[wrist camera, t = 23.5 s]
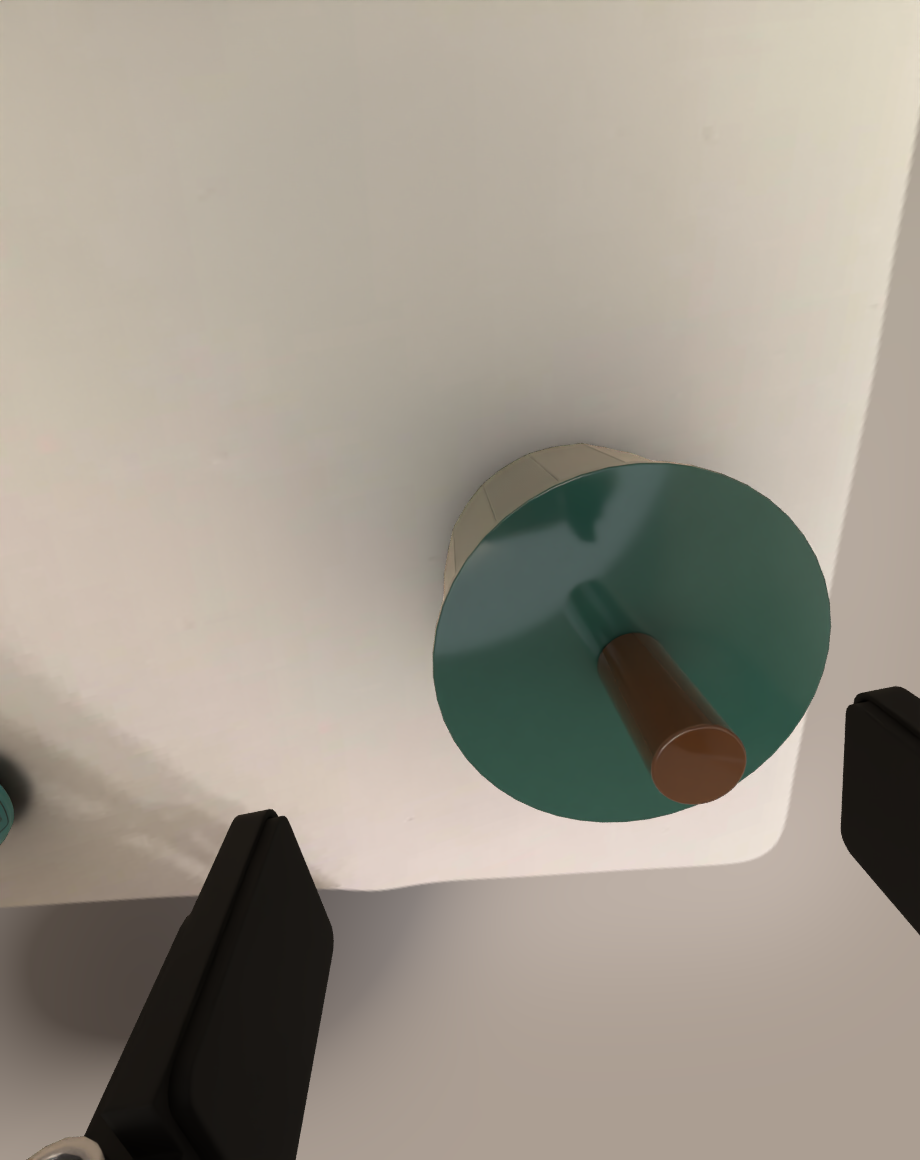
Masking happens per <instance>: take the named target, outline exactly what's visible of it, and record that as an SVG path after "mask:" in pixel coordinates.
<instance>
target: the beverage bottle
mask: <svg viewBox="0 0 920 1160" xmlns="http://www.w3.org/2000/svg"><path fill="white" fill-rule="evenodd" d="M13 820H14V810H13V805H12V802H11V800H10V798H9V796H8V794H7V793H6V791H5V790H4V788H3V787H2V786H1V785H0V844H1V843H2V842H3V841H4V840H5V838H6V836H7V835H8V832H9V831H10V829H11V827H12V824H13Z"/></svg>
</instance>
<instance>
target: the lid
mask: <svg viewBox="0 0 920 1160" xmlns="http://www.w3.org/2000/svg"><path fill="white" fill-rule="evenodd" d="M830 620H831V619H830V602H829V597H828V592H827V587H826V583H825V578H824V576H823V573H822V571H821V568H820V565H819V563H818V560H817V557H816V555H815V554H814V552H813V550H812V548H811V547H810V545H809V543H808V541H807V540H806V538H805V536H804V535H803V533H802V532H801V531H800V530H799V529H798V527H797V526H796V525H795V524H794V522H793V521H792V520H791V519H790V518H789V516H788V515H787V514H786V513H784V512H783V511H782V510H781V509H780V508H779V507H778V506H777V505H775V504H774V503H773V502H772V501H771V500H770V499H768V498H767V497H765V496H764V495H762V494H761V493H759V492H758V491H756V490H754V489H753V488H751V487H750V486H748V485H746V484H744V483H742V482H740V481H737V480H735V479H733V478H731V477H728V476H726V475H724V474H722V473H718V472H715V471H712V470H708V469H704V468H701V467H697V466H694V465H689V464H682V463H674V462H667V461H631V462H624V463H617V464H610V465H604V466H600V467H597V468H593V469H589V470H586V471H582V472H578V473H576V474H573V475H571V476H568V477H566V478H563V479H561V480H559V481H556V482H554V483H551V484H549V485H548V486H546V487H544V488H542V489H541V490H539V491H537V492H535V493H534V494H532V495H530V496H528V497H527V498H525V499H524V500H522V501H521V502H520V503H518V504H517V505H516V506H514V507H513V508H512V509H510V510H509V511H508V512H506V513H505V514H504V515H502V516H501V517H500V518H499V519H498V520H497V521H496V522H495V523H494V524H493V525H492V526H491V527H490V528H489V529H488V530H487V531H486V532H485V533H484V534H483V535H482V536H481V537H480V539H479V540H478V541H477V542H476V544H475V545H474V546H473V547H472V549H471V550H470V551H469V552H468V554H467V555H466V556H465V558H464V560H463V561H462V563H461V565H460V566H459V568H458V570H457V571H456V573H455V575H454V576H453V578H452V580H451V583H450V585H449V587H448V590H447V592H446V594H445V597H444V599H443V601H442V605H441V608H440V612H439V616H438V619H437V623H436V629H435V636H434V644H433V679H434V685H435V691H436V697H437V701H438V704H439V707H440V710H441V713H442V717H443V720H444V722H445V724H446V726H447V728H448V730H449V732H450V734H451V736H452V738H453V740H454V742H455V743H456V744H457V746H458V747H459V749H460V750H461V752H462V753H463V755H464V756H465V757H466V759H467V760H468V761H469V762H470V763H471V764H472V765H473V766H474V767H475V768H476V770H477V771H478V772H479V773H480V774H481V775H482V776H484V777H485V778H486V779H487V780H488V781H490V782H491V783H492V784H493V785H494V786H496V787H497V788H498V789H500V790H501V791H503V792H505V793H506V794H508V795H509V796H511V797H513V798H514V799H516V800H518V801H520V802H522V803H524V804H526V805H529V806H531V807H533V808H535V809H538V810H541V811H544V812H547V813H550V814H553V815H556V816H560V817H565V818H570V819H575V820H581V821H592V822H629V821H637V820H645V819H651V818H655V817H660V816H664V815H669V814H672V813H675V812H678V811H681V810H684V809H687V808H690V807H693V806H696V805H698V804H704V803H708V802H711V801H714V800H716V799H718V798H720V797H722V796H724V795H725V794H727V793H728V792H729V791H731V790H732V789H733V788H734V787H735V786H736V785H737V783H739V782H740V781H741V780H743V779H744V778H746V777H747V776H748V775H750V774H751V773H752V772H754V771H755V770H756V769H757V768H759V767H760V766H761V765H762V764H763V763H764V762H765V761H766V760H767V759H768V758H770V757H771V756H772V755H773V754H774V753H775V752H776V751H777V749H778V748H779V747H780V746H781V745H782V744H783V743H784V742H785V740H786V739H787V738H788V737H789V736H790V734H791V733H792V732H793V730H794V729H795V727H796V726H797V724H798V723H799V722H800V720H801V719H802V717H803V716H804V714H805V712H806V710H807V708H808V706H809V705H810V703H811V701H812V699H813V697H814V695H815V693H816V690H817V688H818V685H819V682H820V680H821V677H822V674H823V671H824V667H825V663H826V659H827V654H828V650H829V641H830V629H831V621H830Z"/></svg>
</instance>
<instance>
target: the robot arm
mask: <svg viewBox="0 0 920 1160" xmlns="http://www.w3.org/2000/svg"><path fill="white" fill-rule="evenodd" d="M841 813H842V814H841V835H842V838H843V841H844V843H845V845H846V847H847V849H848V851H849V852H850V854H851V855H852V856H853V857H854V858H855V860H856V861H857V862H858V863H859V864H860V865H861V867H862V868H863V869H864V870H865V871H866V873H867V874H868V875H869V876H870V877H871V878H872V880H873V881H874V882H875V883H876V884H877V886H878V887H879V888H880V889H881V890H882V891H883V893H885V895H886V896H887V897H888V898H889V900H890V901H891V902H892V903H893V904H894V905H895V906H896V908H897V909H898V910H899V911H900V912H901V914H902V915H903V916H904V917H905V918H906V919H907V921H908V922H909V923H910V924H911V925H912V926H913V928H914V929H915V930H916V931H917V932H918V934H919V935H920V698H918V697H916V696H915V695H914V694H912V693H910V692H909V691H907V690H906V689H904V688H902V687H896V686H895V687H889V688H884V689H879V690H874V691H869V692H864V693H860V694H858V695H857V696H856V697H855V699H854V704H852V705H849V706H848V708H847V710H846V722H845V744H844V768H843V791H842V812H841ZM333 942H334V940H333V931H332V926H331V924H330V921H329V919H328V917H327V914H326V911H325V909H324V906H323V904H322V902H321V899H320V897H319V894H318V892H317V889H316V887H315V884H314V882H313V879H312V877H311V874H310V872H309V870H308V867H307V865H306V862H305V860H304V857H303V855H302V852H301V850H300V848H299V845H298V843H297V840H296V838H295V835H294V833H293V830H292V828H291V826H290V823H289V821H288V819H287V818H286V817H285V816H280V817H278V815H277V814H276V812H275V811H274V810H273V809H268V810H263V811H258V812H253V813H248V814H243V815H238V816H237V817H235V819H234V820H233V822H232V824H231V826H230V828H229V830H228V832H227V835H226V837H225V839H224V841H223V843H222V846H221V848H220V850H219V852H218V855H217V857H216V859H215V861H214V863H213V866H212V868H211V870H210V872H209V874H208V877H207V879H206V881H205V883H204V885H203V888H202V890H201V892H200V894H199V896H198V899H197V901H196V903H195V905H194V908H193V910H192V912H191V914H190V915H189V916H187V917H186V919H185V920H184V922H183V924H182V925H181V927H180V929H179V931H178V933H177V936H176V938H175V940H174V942H173V944H172V946H171V949H170V951H169V953H168V955H167V957H166V960H165V962H164V964H163V966H162V968H161V970H160V973H159V975H158V977H157V979H156V981H155V983H154V985H153V988H152V990H151V992H150V994H149V997H148V998H147V1001H146V1003H145V1005H144V1007H143V1009H142V1011H141V1014H140V1016H139V1018H138V1020H137V1023H136V1025H135V1027H134V1029H133V1031H132V1033H131V1035H130V1038H129V1040H128V1042H127V1044H126V1046H125V1048H124V1051H123V1053H122V1055H121V1057H120V1060H119V1061H118V1064H117V1066H116V1068H115V1070H114V1072H113V1074H112V1077H111V1079H110V1081H109V1083H108V1085H107V1088H106V1090H105V1092H104V1094H103V1096H102V1098H101V1101H100V1103H99V1105H98V1107H97V1109H96V1111H95V1114H94V1116H93V1118H92V1120H91V1122H90V1125H89V1127H88V1129H87V1131H86V1133H85V1135H84V1136H80V1137H67V1138H64V1139H62V1140H59V1141H57V1142H55V1143H52V1144H50V1145H48V1146H45V1147H44V1148H42V1149H41V1150H40V1151H38V1152H37V1153H35V1154H34V1155H33V1156H31V1157H30V1158H28V1159H27V1160H296V1155H297V1149H298V1144H299V1138H300V1132H301V1127H302V1121H303V1115H304V1110H305V1105H306V1099H307V1093H308V1088H309V1082H310V1077H311V1071H312V1066H313V1060H314V1054H315V1049H316V1043H317V1037H318V1032H319V1026H320V1021H321V1015H322V1010H323V1004H324V999H325V993H326V987H327V982H328V976H329V971H330V965H331V960H332V954H333Z"/></svg>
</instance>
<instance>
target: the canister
mask: <svg viewBox="0 0 920 1160" xmlns="http://www.w3.org/2000/svg"><path fill="white" fill-rule="evenodd" d="M631 461H652V460H649V459H646V458H643V457H641V456H638V455H635V454H632V453H629V452H624V451H619V450H614V449H610V448H606V447H601V446H594V445H589V444H584V443H581V444H580V443H577V444H572V445H564V446H557V447H551V448H547V449H543V450H540V451H536V452H533V453H529V454H528V455H525V456H523V457H522V458H519V459H517V460H516V461H514V462H512V463H510V464H509V465H507V466H505V467H504V468H502V469H501V470H500V471H498V472H497V473H496V474H494V475H493V476H492V477H491V478H489V479H488V480H487V481H486V482H485V483H484V484H483V485H482V486H481V487H480V488H479V489H478V490H477V492H476V493H475V494H474V495H473V497H472V498H471V499H470V501H469V502H468V503H467V505H466V507H465V508H464V510H463V512H462V513H461V515H460V517H459V519H458V521H457V522H456V524H455V525H454V528H453V530H452V535H451V540H450V544H449V548H448V554H447V561H446V566H445V571H444V597H445V594H446V592H447V590H448V587H449V585H450V583H451V580H452V578H453V576H454V575H455V573H456V571H457V570H458V568H459V566H460V565H461V563H462V561H463V560H464V558H465V556H466V555H467V554H468V552H469V551H470V550H471V549H472V547H473V546H474V545H475V544H476V542H477V541H478V540H479V539H480V537H481V536H482V535H483V534H484V533H485V532H486V531H487V530H488V529H489V528H490V527H491V526H492V525H493V524H494V523H495V522H496V521H497V520H498V519H499V518H500V517H501V516H502V515H504V514H505V513H506V512H508V511H509V510H510V509H512V508H513V507H514V506H516V505H517V504H518V503H520V502H521V501H522V500H524V499H525V498H527V497H528V496H530V495H532V494H534V493H535V492H537V491H539V490H541V489H542V488H544V487H546V486H548V485H549V484H551V483H554V482H556V481H559V480H561V479H563V478H566V477H568V476H571V475H573V474H576V473H578V472H582V471H586V470H589V469H593V468H597V467H600V466H604V465H610V464H617V463H624V462H631ZM443 599H444V598H443Z"/></svg>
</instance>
